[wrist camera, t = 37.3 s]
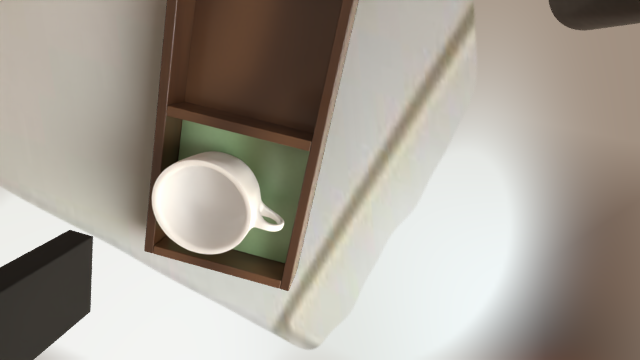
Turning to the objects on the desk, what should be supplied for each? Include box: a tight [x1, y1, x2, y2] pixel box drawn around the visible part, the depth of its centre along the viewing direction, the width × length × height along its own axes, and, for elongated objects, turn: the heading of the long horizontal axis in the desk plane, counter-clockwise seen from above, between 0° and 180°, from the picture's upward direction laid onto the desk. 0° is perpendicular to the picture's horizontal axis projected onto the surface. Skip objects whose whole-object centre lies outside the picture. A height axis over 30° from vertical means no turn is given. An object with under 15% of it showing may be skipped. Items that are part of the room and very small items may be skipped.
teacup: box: [152, 151, 284, 254], centre depth 33 cm, size 10×8×5 cm
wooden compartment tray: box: [144, 0, 359, 291], centre depth 32 cm, size 13×25×4 cm, turn 168°
